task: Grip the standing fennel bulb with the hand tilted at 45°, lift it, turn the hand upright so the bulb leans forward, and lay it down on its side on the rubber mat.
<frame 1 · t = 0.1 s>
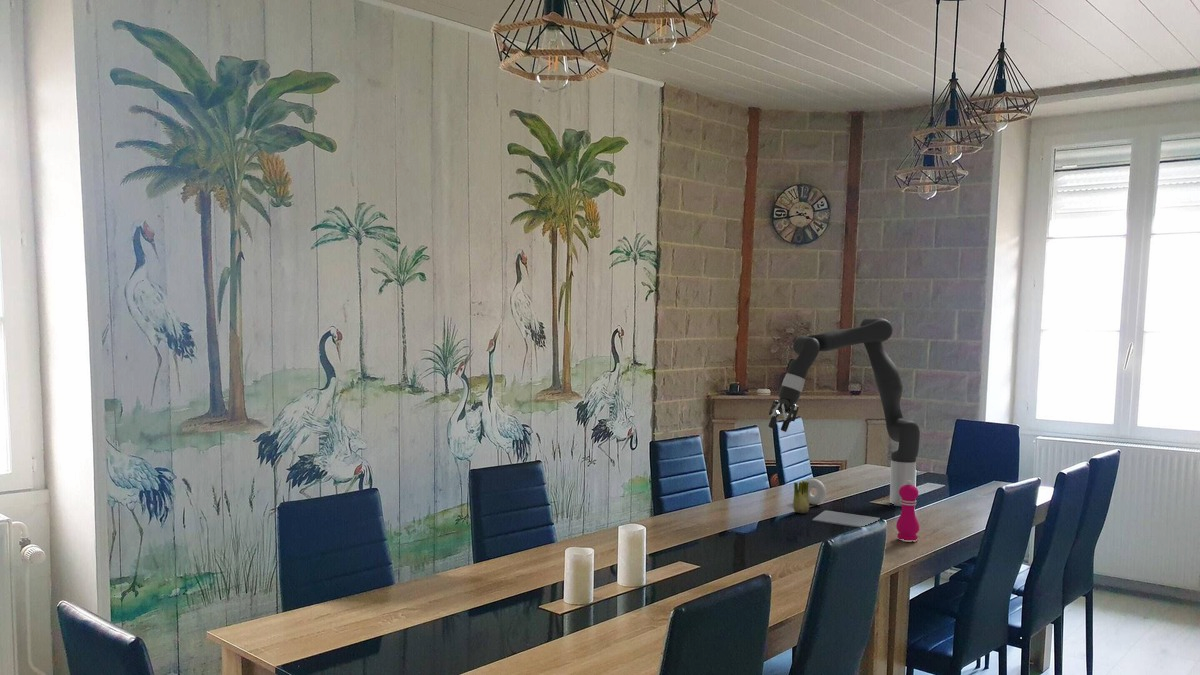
hand: (776, 429, 309), 31 cm above the table, tool tilted 20°, fingers open, 8 cm apart
rubber mat: (846, 519, 304), on the table
fennel bulb: (801, 513, 313), on the table
pepper mill: (907, 540, 278), on the table
donut: (813, 504, 327), on the table
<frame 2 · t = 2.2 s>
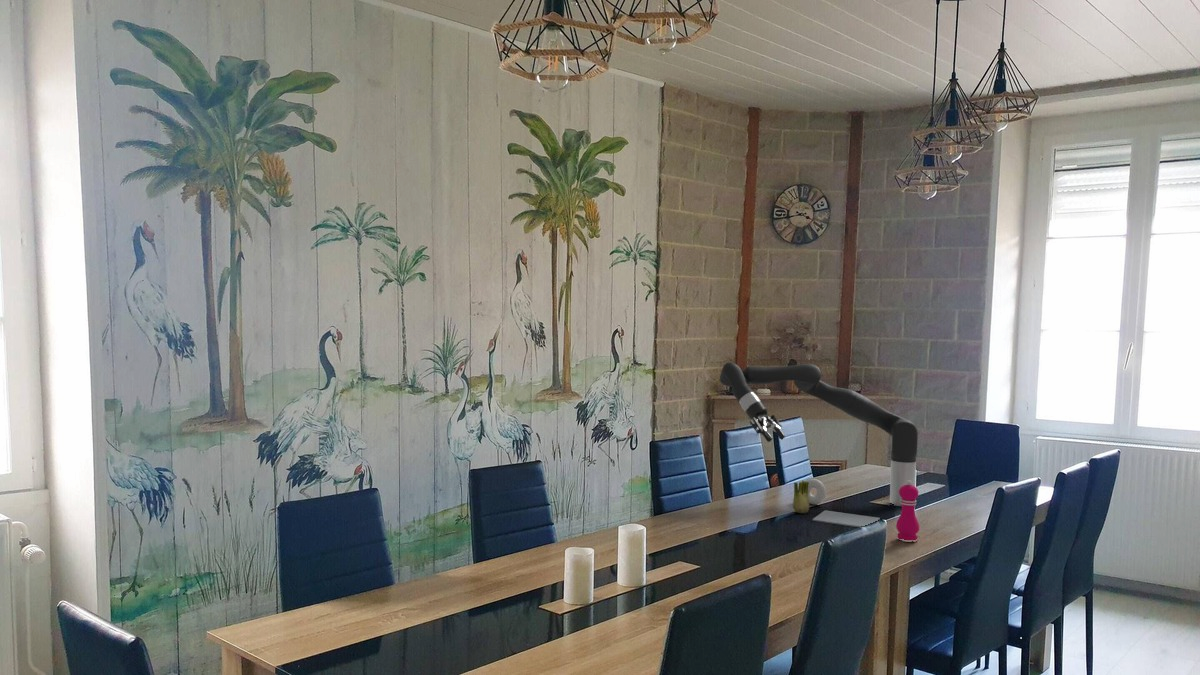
hand: (777, 439, 320), 26 cm above the table, tool tilted 45°, fingers open, 8 cm apart
nothing on the table moved.
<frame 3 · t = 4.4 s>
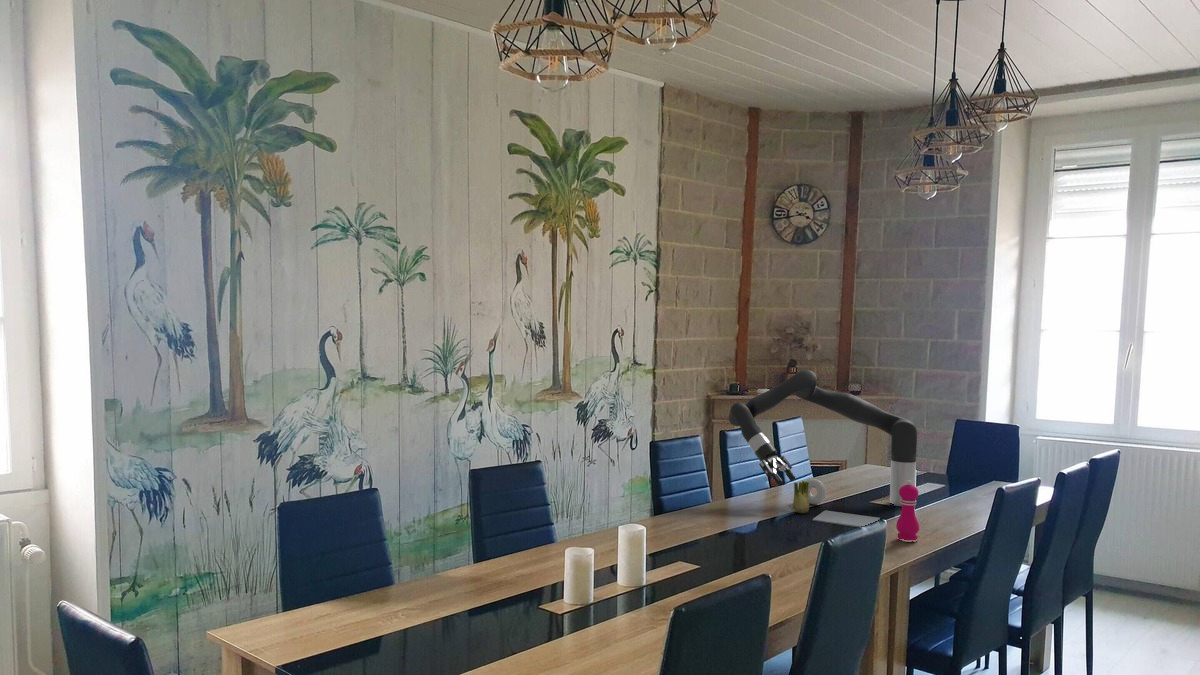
hand: (787, 481, 317), 11 cm above the table, tool tilted 45°, fingers open, 8 cm apart
nothing on the table moved.
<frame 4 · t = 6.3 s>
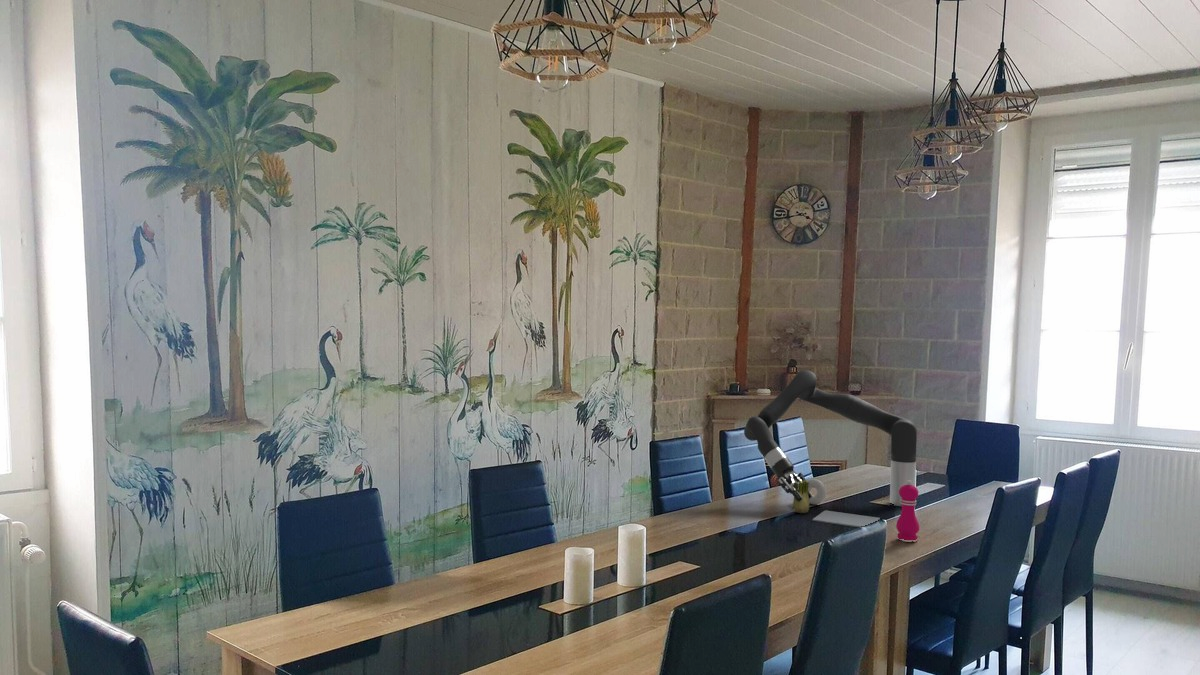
hand: (805, 499, 312), 6 cm above the table, tool tilted 45°, fingers closed on fennel bulb, 5 cm apart
fennel bulb: (801, 513, 313), on the table, touching gripper
everything else where it was.
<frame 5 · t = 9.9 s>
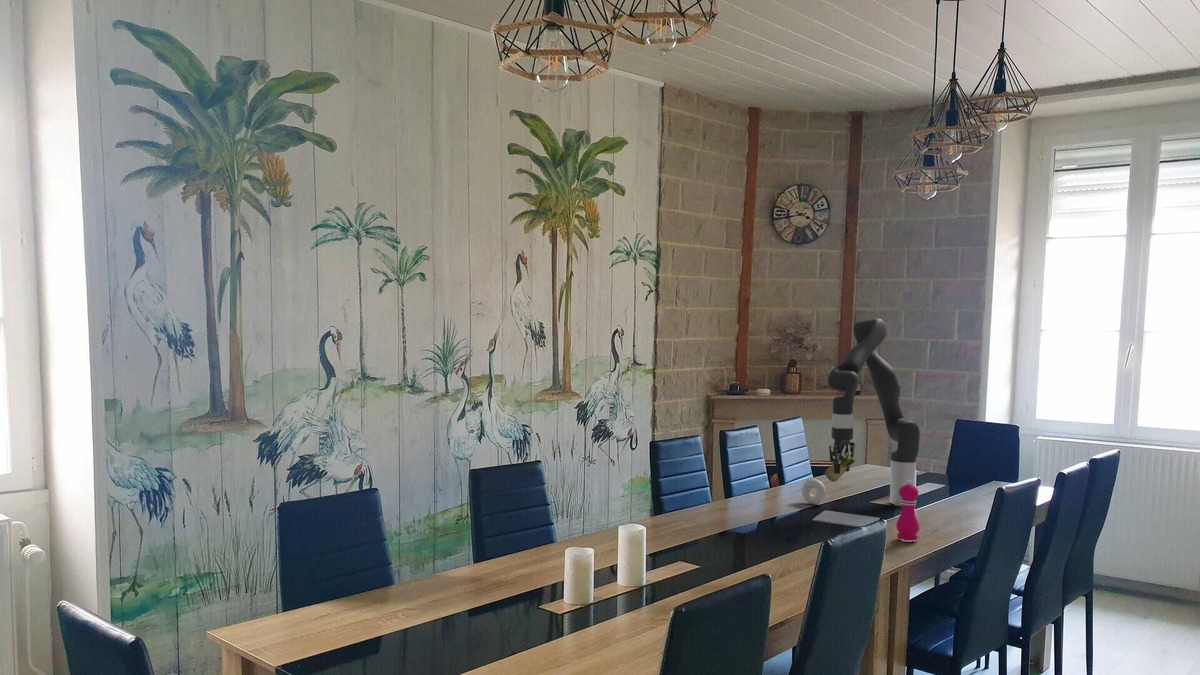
hand: (841, 472, 304), 17 cm above the table, tool pointing down, fingers closed on fennel bulb, 5 cm apart
fennel bulb: (828, 477, 308), point 14 cm above the table, touching gripper
everything else where it was.
when the fingers open (7 cm above the table, at t = 12.7 s): fennel bulb moves 3 cm, resting on rubber mat.
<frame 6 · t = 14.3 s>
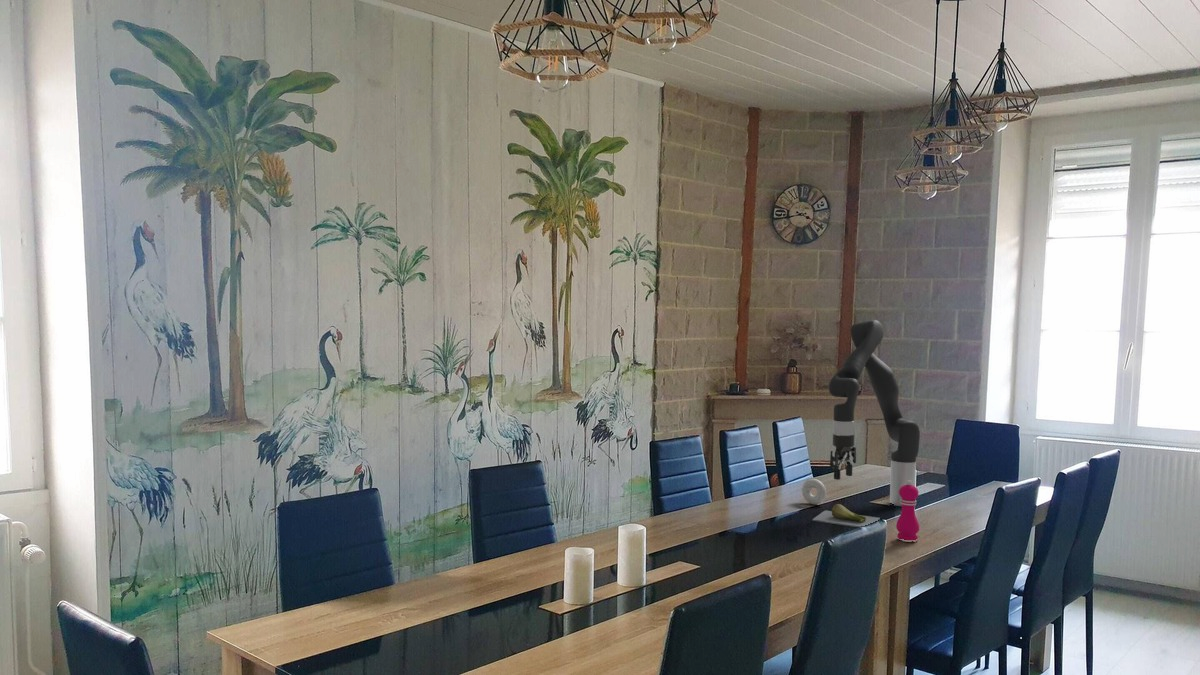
hand: (843, 477, 304), 15 cm above the table, tool pointing down, fingers open, 8 cm apart
fennel bulb: (832, 508, 306), point 3 cm above the table, touching rubber mat
everything else where it was.
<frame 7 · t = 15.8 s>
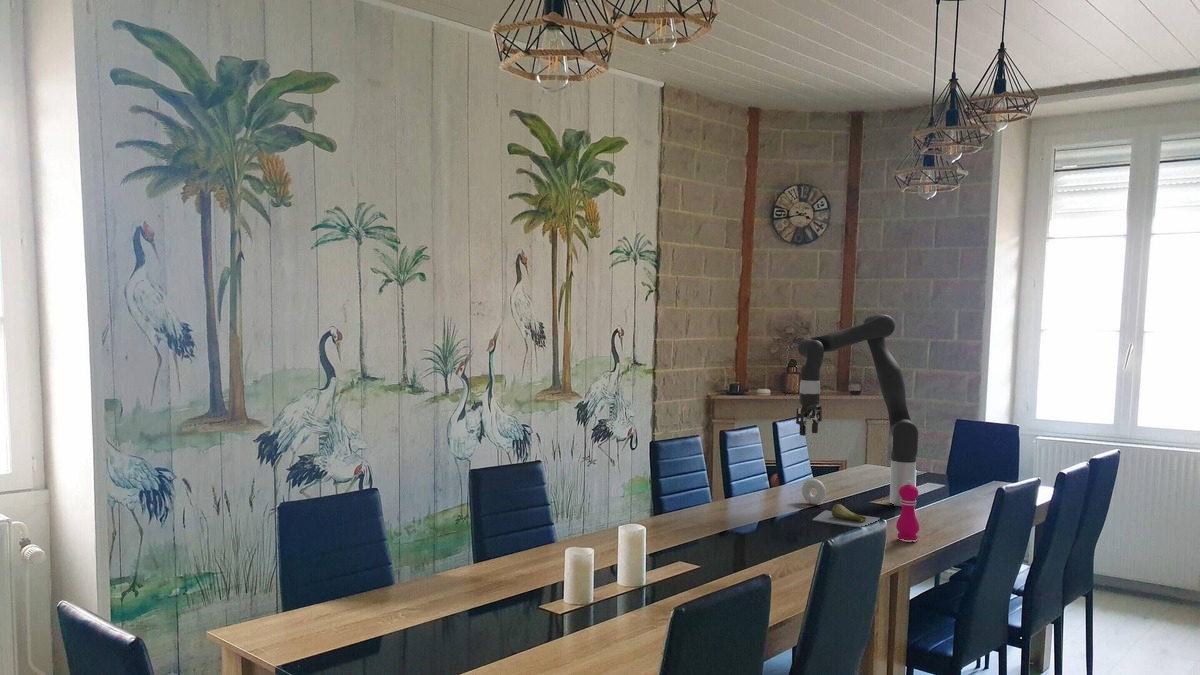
hand: (808, 434, 321), 28 cm above the table, tool pointing down, fingers open, 8 cm apart
nothing on the table moved.
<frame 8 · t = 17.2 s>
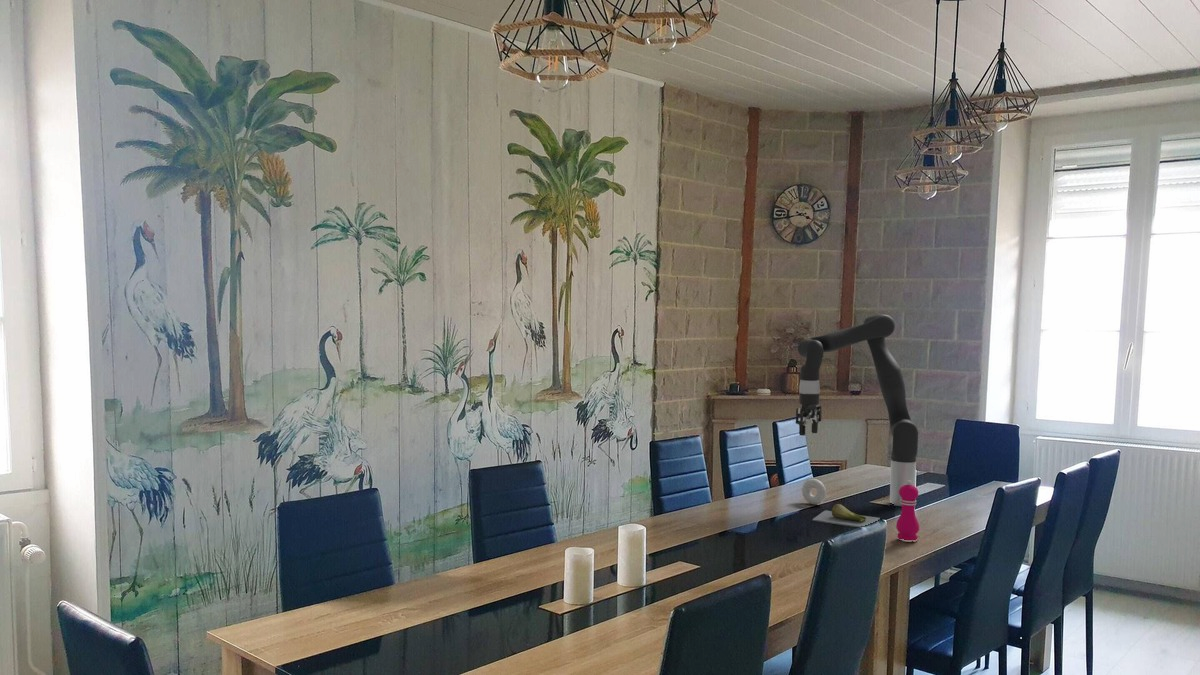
hand: (808, 434, 321), 28 cm above the table, tool pointing down, fingers open, 8 cm apart
nothing on the table moved.
at the end: fennel bulb tilted 99°; fennel bulb inside the target area on the rubber mat (4.5 cm from its centre), point 3.4 cm above the rubber mat's base; the gripper is holding nothing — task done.
